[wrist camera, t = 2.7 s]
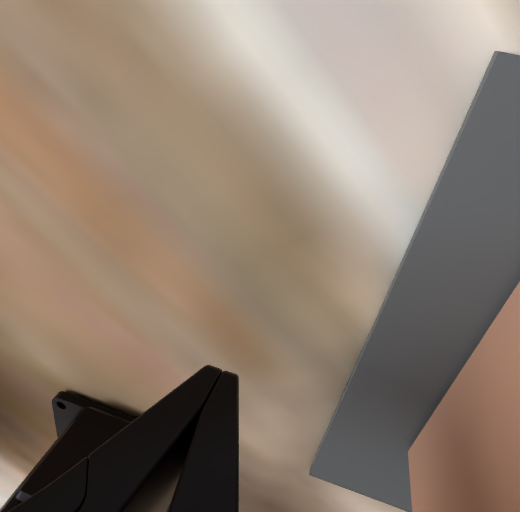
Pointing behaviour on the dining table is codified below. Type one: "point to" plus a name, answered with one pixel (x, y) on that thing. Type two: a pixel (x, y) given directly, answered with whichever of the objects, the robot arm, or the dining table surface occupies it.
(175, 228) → the dining table surface
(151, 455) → the robot arm
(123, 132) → the dining table surface
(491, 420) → the deck
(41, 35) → the dining table surface
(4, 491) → the dining table surface
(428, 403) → the mat
